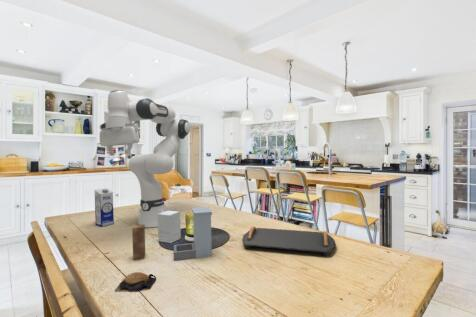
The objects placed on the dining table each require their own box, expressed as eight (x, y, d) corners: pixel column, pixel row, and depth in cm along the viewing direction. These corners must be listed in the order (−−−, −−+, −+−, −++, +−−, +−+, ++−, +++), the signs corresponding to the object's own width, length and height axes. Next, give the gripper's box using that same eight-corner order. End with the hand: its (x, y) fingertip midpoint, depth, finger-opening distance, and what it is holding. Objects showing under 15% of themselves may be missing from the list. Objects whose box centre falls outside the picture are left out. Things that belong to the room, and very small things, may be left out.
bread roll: (112, 294, 74) (112, 282, 74) (124, 279, 82) (124, 268, 82) (149, 293, 74) (149, 280, 74) (158, 278, 82) (157, 267, 82)
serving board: (333, 239, 115) (333, 225, 115) (338, 260, 93) (338, 243, 93) (249, 232, 126) (249, 220, 126) (236, 250, 104) (236, 235, 104)
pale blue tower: (174, 261, 94) (172, 214, 93) (173, 252, 102) (172, 209, 102) (212, 256, 97) (212, 211, 97) (209, 248, 106) (208, 206, 105)
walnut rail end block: (133, 260, 95) (132, 228, 95) (134, 255, 99) (133, 225, 99) (144, 258, 96) (143, 227, 96) (145, 254, 100) (144, 224, 100)
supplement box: (181, 238, 119) (180, 211, 118) (170, 243, 112) (170, 215, 111) (168, 236, 122) (168, 210, 121) (157, 241, 115) (157, 213, 115)
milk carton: (108, 222, 148) (106, 187, 147) (114, 224, 144) (113, 188, 143) (95, 225, 142) (94, 189, 141) (101, 227, 138) (100, 190, 137)
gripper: (141, 123, 117) (142, 153, 116) (107, 128, 124) (108, 156, 123) (131, 121, 111) (132, 152, 110) (96, 126, 118) (97, 156, 117)
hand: (119, 154), depth 117 cm, fingers open, 8 cm apart
